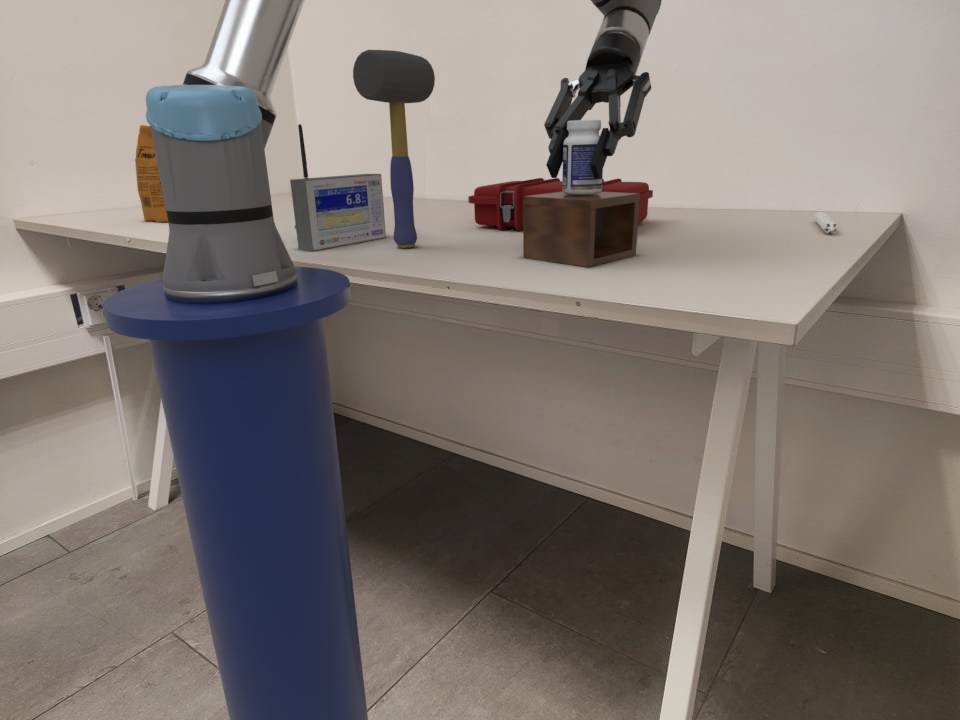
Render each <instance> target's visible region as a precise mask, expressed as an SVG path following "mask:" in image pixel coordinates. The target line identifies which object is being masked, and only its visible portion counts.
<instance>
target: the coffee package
mask: <svg viewBox="0 0 960 720" xmlns="http://www.w3.org/2000/svg"><path fill="white" fill-rule="evenodd" d="M134 161H135V174H136V175H135V176H136V186H137V187H136V188H137V193H138V196H139V201H140V204H141V210H142V215H143V220H144V222H156V223H168V218H167V213H166V208H165V203H164V197H163V192H162V187H161V181H160V176H159V170H158V165H157V160H156V154H155V149H154V143H153V138H152V133H151V128H150V125H144V124H140V125H139V130H138V135H137V144H136V149H135V159H134Z"/></svg>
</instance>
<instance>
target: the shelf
mask: <svg viewBox="0 0 960 720" xmlns="http://www.w3.org/2000/svg"><path fill="white" fill-rule="evenodd" d="M639 198H640V194H639V193H619V192H601V193H599V194H591V195H568V194H564V193H563V192H555V193H547V194H538V195H530V196H524V197H523V204H524V205H523V230H522V232H523V233H522V235H523V238H522V239H523V240H522V241H523V242H522V245H523V248H522V250H523V251H522V254H523V255H522V257H523V258H524V259H529V260H536V261H542V262H549V263H550V262H551V263H556V264H564V265H570V266H575V267H577V266H578V267H583V268H591V267H595V266H596V267H597V266H599V265H603V264H607V263H612V262H614V261H615V262H616V261H620V260H623V259H628V258H630V257H634V256H636V255H637V246H638V229H639V223H638V214H639Z"/></svg>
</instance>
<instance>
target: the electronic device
mask: <svg viewBox="0 0 960 720" xmlns="http://www.w3.org/2000/svg"><path fill="white" fill-rule="evenodd" d="M297 127H298V136H299V137H298V138H299V147H300V148H299V149H300V157H301V166H302V174H303V178H292V179H291V178H290V180H289V182H290V191H291V199H292V208H293V215H294V229H295V231H296V240H297V247H298V250H300V251H308V252H317V251H320V250H321V251H322V250H327V249H332V248H338V247H343V246H348V245H354V244H359V243H365V242H369V241H375V240H382V239H386V238H387V233H386V220H385V207H384V206H385V205H384V192H383V191H384V190H383V179H382V173H359V174H358V173H357V174H347V175H346V174H344V175H331V176H319V177H309V172H308V163H307V155H306V154H307V153H306V148H305V147H306V146H305V139H304V132H303V130H304V129H303V125H302V124H301V123H299V124H298V126H297Z"/></svg>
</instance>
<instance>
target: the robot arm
mask: <svg viewBox="0 0 960 720" xmlns="http://www.w3.org/2000/svg"><path fill="white" fill-rule="evenodd" d="M590 1H591V3H592V4H593V5H594V6H595V7H596V9H597V10H598V11H599V12H600V13H601V14H602V16H603V18H602V21H601V24H600V27H599V29H598V32H597V34H596V36H595V39H594V42H593V44H592V46H591V50H590V52H589V55H588V57H587V60H586V64H585V69H584V71H583V72H582V73H580V75H579V77H578V78H577V79H574V80H570V81H569V78H568V77H563V78H561V80H560V89H559V91H558V94H557V95H556V98H555V100H554V102H553V104H552V106H551V108H550V111H549V113H548V115H547V117H546V120H545V121H544V124H543V127H544V129H545V131H546V134H547V137H548V139H549V140H550V142H549V144H548V148H547V149H548V152H549V156H548V159H547V161H546V164H545V166H546V169H547V171H548V172H549V175H550V177H551V178H550V179H554V178H558V175H559V173H560V170H561V167H562V166H563V142H564V140H565V139H566V138H567V137H568V136H569V132H568V130H567V122H568V121H575V120H583V118H584V116H585V115H586V114H587V113H588V111H591V110H593V108H594V106H595V105H596V104H598V103H608V121H607V123H608V126H609V127H603V128H601V133H600V134H599V136H600V138H599V140H598V143H597V146H596V149H595V152H594V154H593V157H592V160H591V163H590V167H591V170H592V173H593V176H594V178H600V175H601V173H602V170H603V171H604V166H605V164H606V161H607V159H608V157H613V155H614V154H615V153H616V149H617V146H618V143H619V141H620V140H621V139H622V138H623V137H627V138H633V137H634V136H635V135H636V131H637V128H638V124H639V120H640V117H641V113H642V109H643V106H644V102H645V99H646V97H647V96H648V94H649V93H650V91H651V90H652V83H651V77H650V73H649V72H648V71H644V72H642V73H641V74H639V75H637V72H638V69H639V67H640V64H641V59H642V58H643V54H644V52H645V48H646V45H647V42H648V40H649V37H650V34H651V31H652V29H653V26H654V23H655V22H656V21H655V20H656V18H657V16H658V14H659V12H660V9H661V5H662V0H590ZM304 3H305V0H224V3H223V6H222V8H221V9H222V10H221V13H220V15H219V18H218V21H217V25H216V27H215V29H214V30H215V31H214V33H213V36H212V39H211V41H210V45H209V47H208V51H207V54H206V57H205V60H204V63H203V64H202V65H201V66H198V67H197V66H196V67H195V68H192V69H188V70H187V72H186V73H185V77H184V79H183V83H182V84H174V85H159V86H153V87H151V88H149V89H148V90H147V92H146V94H145V104H146V111H145V118H146V122H147V123H148V126H150V128H151V133H152V138H153V143H154V149H155V154H156V160H157V165H158V170H159V176H160V181H161V187H162V192H163V197H164V203H165V208H166V213H167V218H168V222H167V224H168V228H169V229H168V239H167V247H166V254H165V260H164V266H163V272H162V279H163V289H164V294H165V297H166V298H167V299H168V300H171V301H174V302H179V303H188V304H218V303H231V302H240V301H248V300H254V299H260V298H265V297H269V296H273V295H277V294H280V293H283V292H286V291H289V290H291V289H293V288H294V287H295V286H296V285H297V276H296V271H295V267H296V266H295V265H294V262H293V260H292V257H291V256H290V254H289V252H288V249H287V248H286V245H285V243H284V241H283V239H282V237H281V235H280V232H279V231H278V228H277V226H276V223H275V218H274V212H273V204H272V195H271V188H270V182H269V174H268V173H269V172H268V165H267V158H266V146H267V143H268V141H269V138H270V135H271V132H272V130H273V128H274V123H275V121H276V118H277V115H278V113H277V111H276V109H275V106H274V103H273V102H272V99H271V96H272V94H273V91H274V87H275V85H276V82H277V79H278V76H279V73H280V71H281V68H282V65H283V63H284V60H285V57H286V55H287V51H288V49H289V46H290V43H291V40H292V37H293V34H294V32H295V29H296V26H297V24H298V20H299V17H300V15H301V12H302V9H303V6H304ZM630 89H631V93H630V96H629V100H628V104H627V107H626V110H625V113H624V118H623V121H622V119H621V105H622V102H621V101H622V100H621V96H623V94H625V93H626V92H627V91H629V90H630ZM576 93H577V96H576ZM573 98H575V99H574V100H573Z"/></svg>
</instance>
